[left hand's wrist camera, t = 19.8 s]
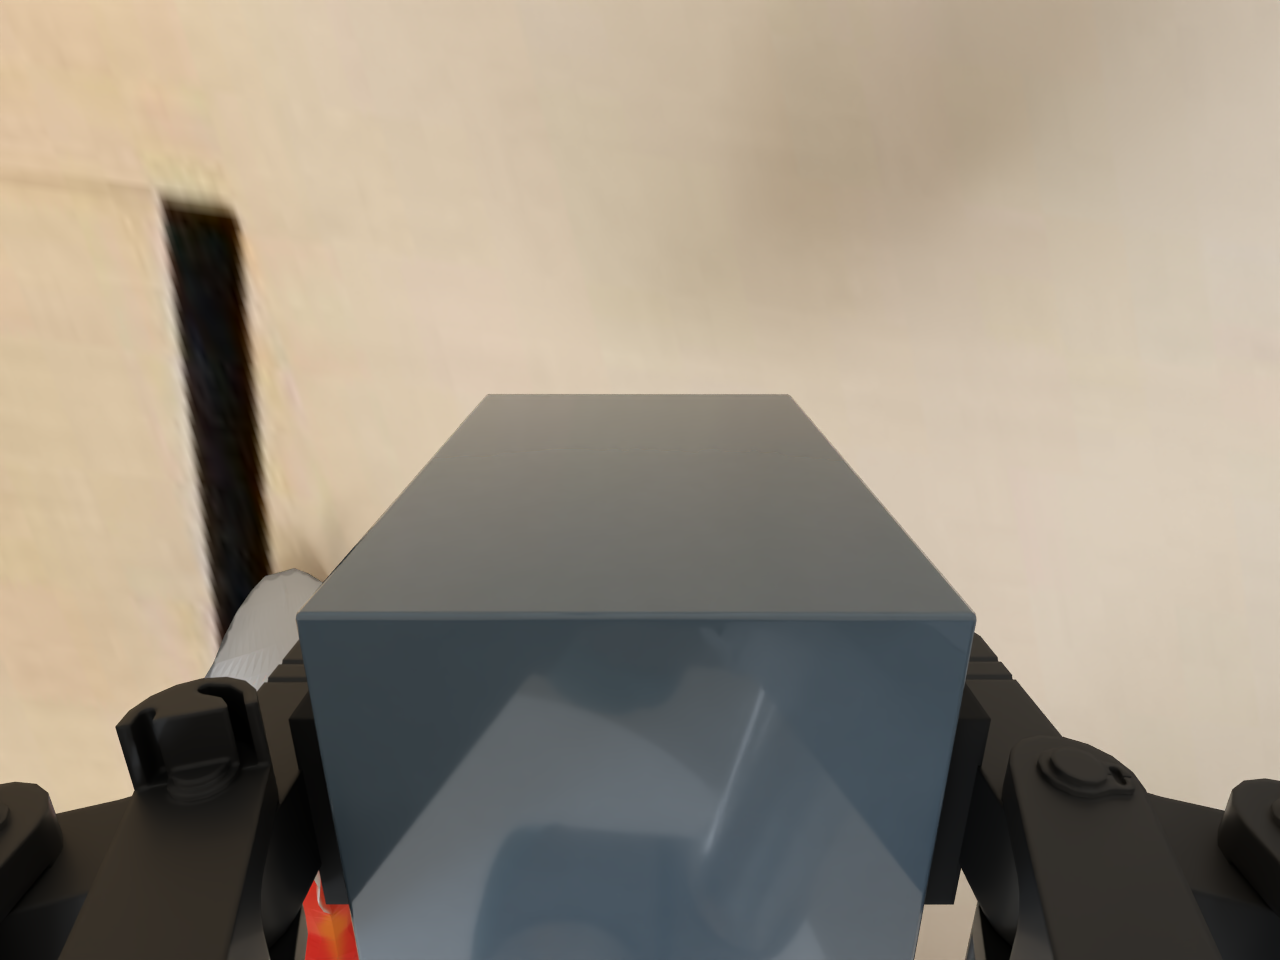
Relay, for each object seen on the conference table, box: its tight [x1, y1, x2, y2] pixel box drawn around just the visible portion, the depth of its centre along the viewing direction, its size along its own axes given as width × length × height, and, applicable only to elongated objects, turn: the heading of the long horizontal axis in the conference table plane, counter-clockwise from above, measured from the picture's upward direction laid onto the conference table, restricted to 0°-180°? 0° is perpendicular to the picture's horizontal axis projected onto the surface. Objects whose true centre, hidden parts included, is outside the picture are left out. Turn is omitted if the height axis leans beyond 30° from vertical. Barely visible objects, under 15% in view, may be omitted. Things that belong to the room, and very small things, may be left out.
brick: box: [296, 394, 976, 960], centre depth 11 cm, size 6×6×8 cm
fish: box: [205, 569, 359, 960], centre depth 27 cm, size 11×16×10 cm
